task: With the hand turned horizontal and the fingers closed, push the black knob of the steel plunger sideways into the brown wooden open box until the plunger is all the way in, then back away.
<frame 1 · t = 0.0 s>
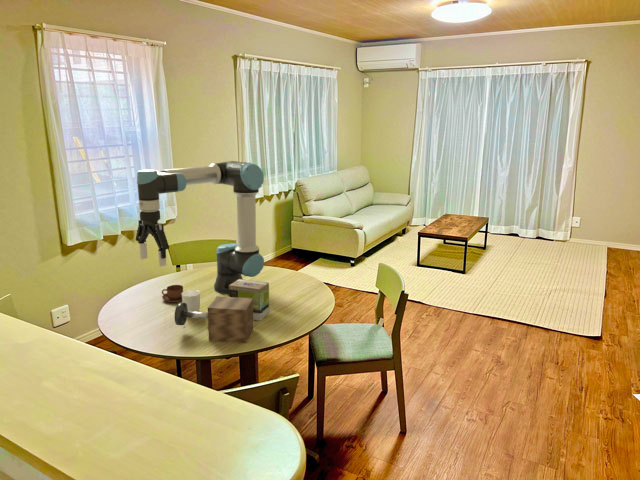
hand: (153, 262, 192), 28 cm above the table, tool pointing down, fingers open, 13 cm apart
white cup: (191, 314, 212), on the table
plunger: (198, 315, 191), point 8 cm above the table, slide at 0.0 cm
brown wooden open box: (213, 334, 193), on the table
tea box: (249, 315, 213), on the table
cup and saucer: (175, 300, 228), on the table
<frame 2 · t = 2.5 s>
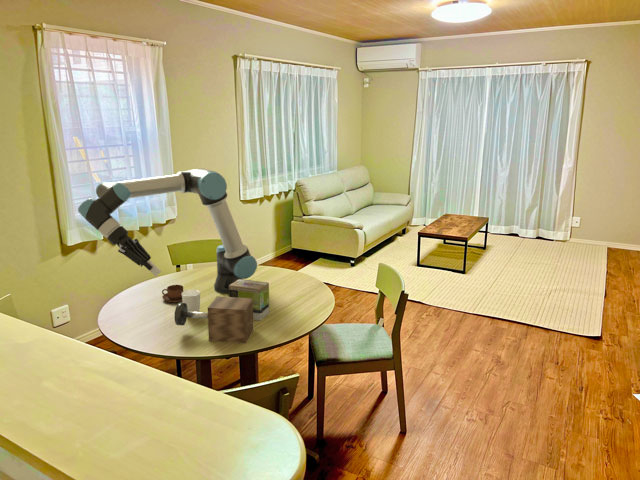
hand: (158, 273, 190), 24 cm above the table, tool tilted 45°, fingers closed
nothing on the table moved.
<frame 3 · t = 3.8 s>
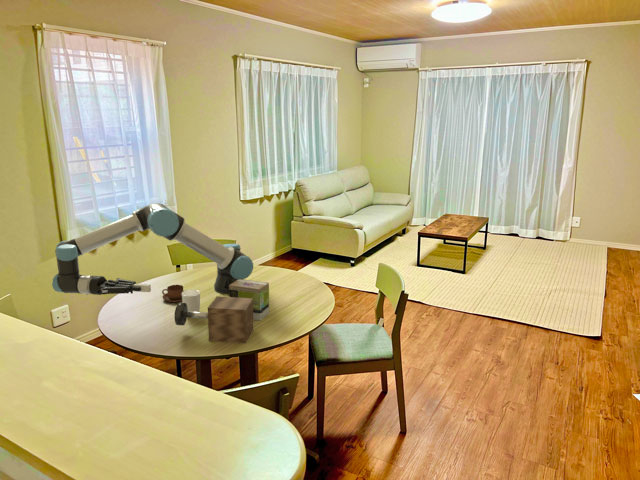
hand: (149, 288, 190), 18 cm above the table, tool horizontal, fingers closed
nothing on the table moved.
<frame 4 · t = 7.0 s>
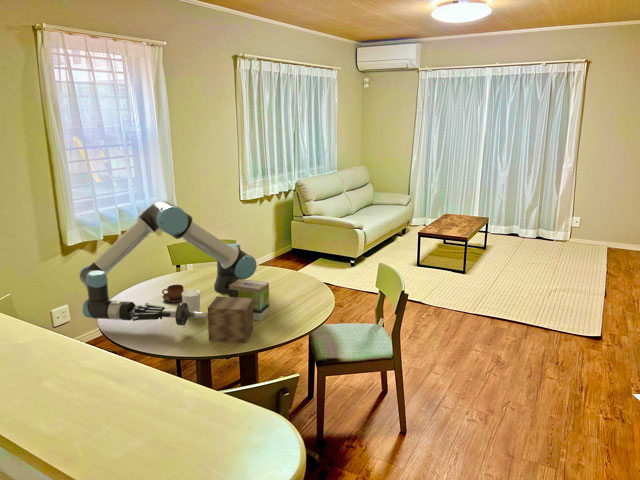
hand: (179, 314, 192), 8 cm above the table, tool horizontal, fingers closed
plunger: (199, 315, 191), point 8 cm above the table, slide at 0.4 cm, touching gripper
everything else where it was.
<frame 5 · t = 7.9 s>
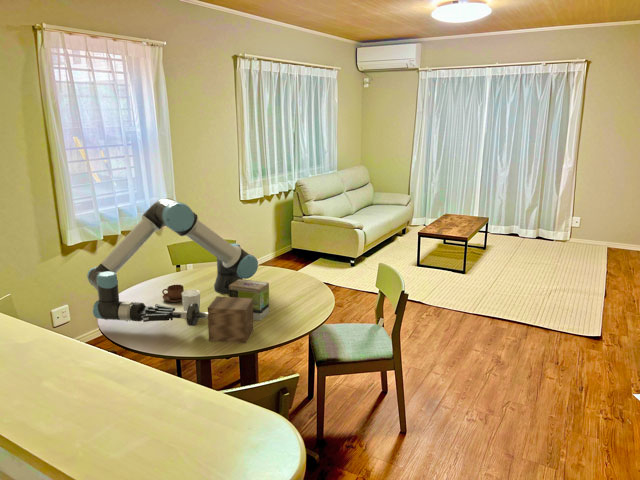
hand: (189, 315, 191), 8 cm above the table, tool horizontal, fingers closed
plunger: (209, 315, 191), point 8 cm above the table, slide at 4.8 cm, touching gripper
everything else where it was.
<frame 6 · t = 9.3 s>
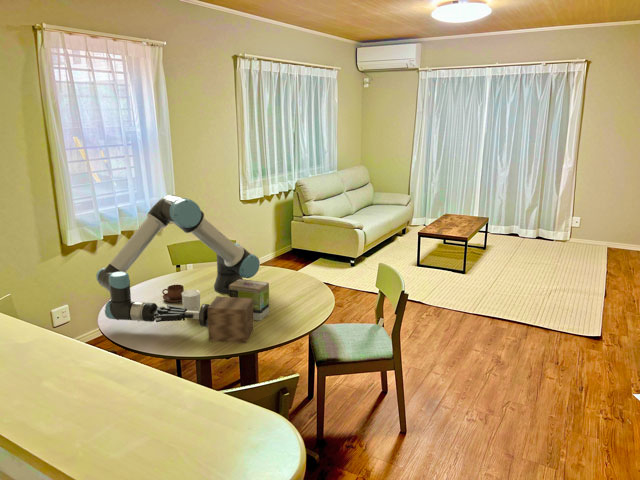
hand: (201, 315, 191), 8 cm above the table, tool horizontal, fingers closed
plunger: (222, 316, 191), point 8 cm above the table, slide at 9.8 cm, touching gripper
everything else where it was.
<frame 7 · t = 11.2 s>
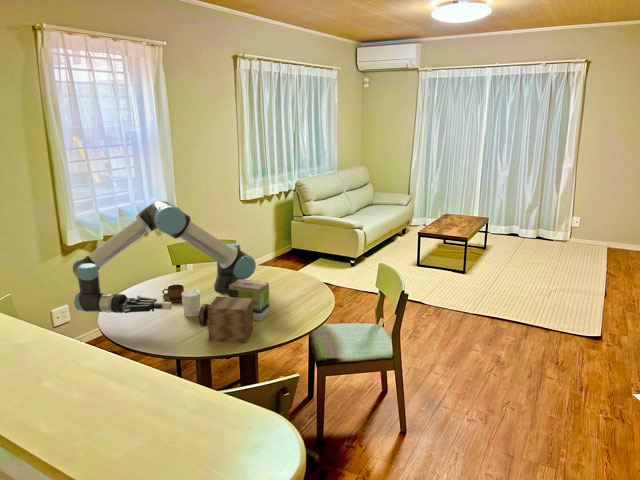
hand: (170, 305, 191), 11 cm above the table, tool horizontal, fingers closed
plunger: (222, 316, 191), point 8 cm above the table, slide at 9.8 cm
everything else where it was.
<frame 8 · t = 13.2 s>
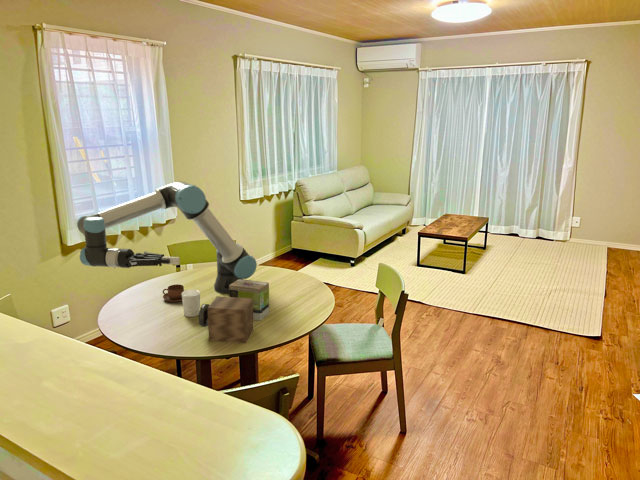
hand: (178, 260, 187), 30 cm above the table, tool horizontal, fingers closed
nothing on the table moved.
at the end: plunger slide at 9.8 cm; plunger moved 9.8 cm from its start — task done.
